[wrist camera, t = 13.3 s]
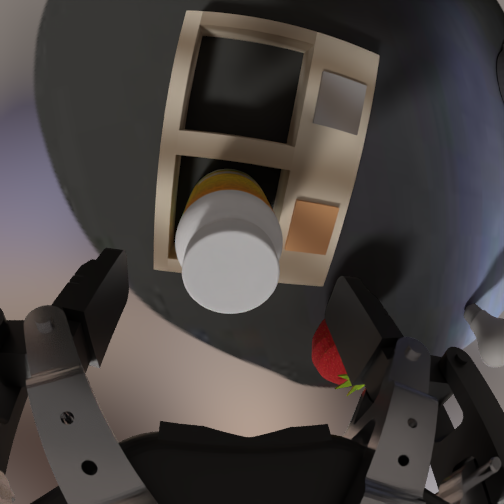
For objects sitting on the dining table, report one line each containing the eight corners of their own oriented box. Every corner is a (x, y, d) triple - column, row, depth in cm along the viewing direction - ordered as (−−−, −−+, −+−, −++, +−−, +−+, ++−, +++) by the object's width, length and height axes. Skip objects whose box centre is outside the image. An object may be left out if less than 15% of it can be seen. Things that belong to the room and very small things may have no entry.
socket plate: (191, 23, 13) (186, 8, 11) (363, 60, 15) (381, 54, 13) (160, 253, 21) (152, 271, 18) (313, 269, 23) (324, 288, 20)
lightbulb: (476, 281, 27) (527, 331, 17) (483, 300, 29) (526, 346, 19) (446, 315, 28) (492, 372, 19) (457, 330, 30) (496, 381, 21)
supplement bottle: (180, 178, 18) (144, 231, 10) (256, 160, 18) (286, 196, 10) (200, 246, 21) (188, 336, 12) (270, 230, 21) (303, 312, 12)
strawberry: (322, 275, 23) (369, 361, 14) (376, 303, 25) (424, 376, 17) (283, 323, 25) (309, 414, 16) (339, 343, 27) (373, 419, 19)
